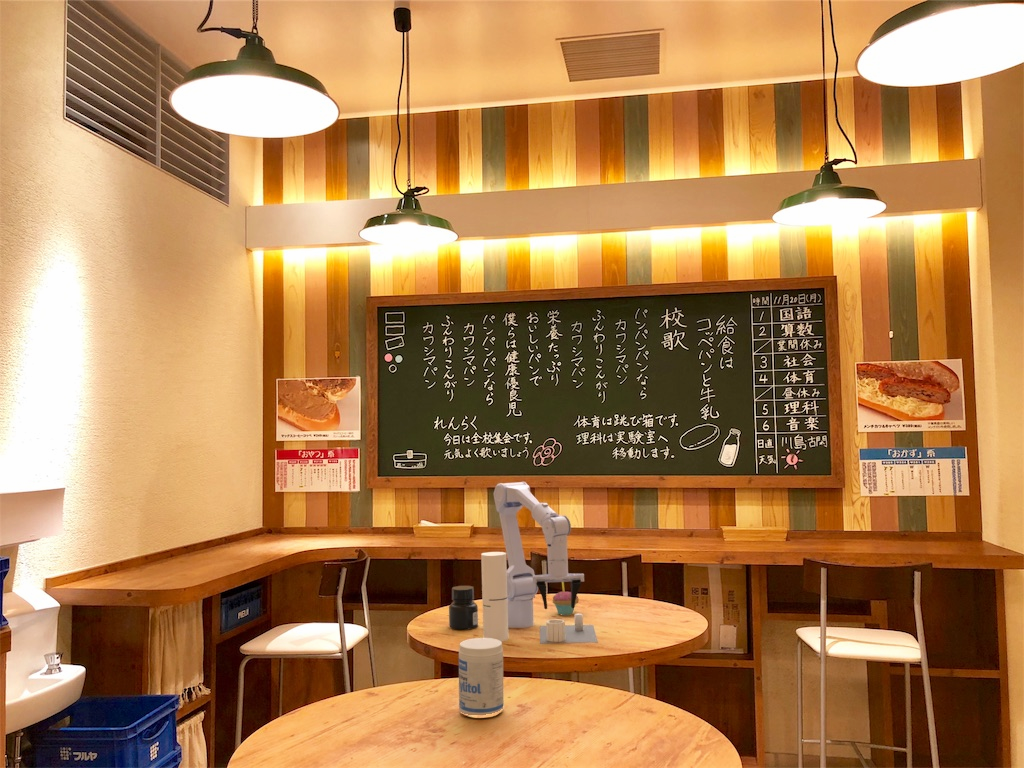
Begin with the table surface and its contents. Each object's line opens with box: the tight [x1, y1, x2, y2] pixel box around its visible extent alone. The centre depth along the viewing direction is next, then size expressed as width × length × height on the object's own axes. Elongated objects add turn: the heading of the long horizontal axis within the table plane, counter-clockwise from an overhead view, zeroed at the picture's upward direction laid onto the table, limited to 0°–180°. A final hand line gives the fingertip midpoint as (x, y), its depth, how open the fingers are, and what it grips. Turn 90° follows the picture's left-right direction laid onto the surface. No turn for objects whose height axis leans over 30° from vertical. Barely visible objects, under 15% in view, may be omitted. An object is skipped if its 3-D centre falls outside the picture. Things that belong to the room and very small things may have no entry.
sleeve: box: [545, 618, 566, 642], centre depth 227 cm, size 5×5×5 cm
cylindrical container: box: [480, 551, 510, 643], centre depth 230 cm, size 7×7×25 cm
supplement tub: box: [458, 637, 505, 715], centre depth 173 cm, size 10×10×15 cm
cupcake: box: [552, 582, 580, 616], centre depth 263 cm, size 9×8×12 cm
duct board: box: [539, 613, 599, 645], centre depth 233 cm, size 16×20×6 cm
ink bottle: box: [448, 585, 479, 631], centre depth 249 cm, size 10×9×12 cm
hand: (559, 607), depth 229 cm, fingers open, 7 cm apart
